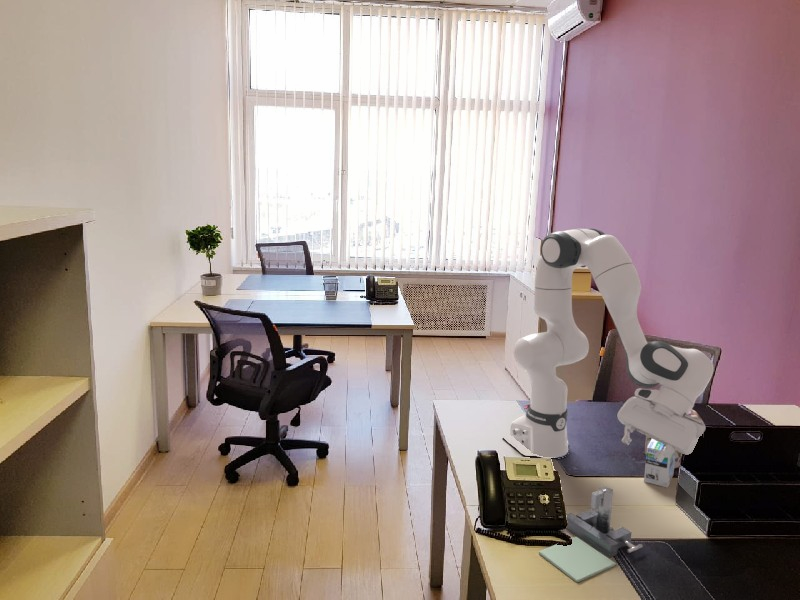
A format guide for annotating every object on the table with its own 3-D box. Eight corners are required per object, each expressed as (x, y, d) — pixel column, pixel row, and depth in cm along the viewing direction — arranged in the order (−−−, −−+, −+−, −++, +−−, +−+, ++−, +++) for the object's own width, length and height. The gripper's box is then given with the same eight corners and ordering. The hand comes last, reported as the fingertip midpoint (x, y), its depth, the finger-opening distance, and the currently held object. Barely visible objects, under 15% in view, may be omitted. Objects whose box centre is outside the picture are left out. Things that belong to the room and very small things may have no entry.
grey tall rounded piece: (581, 533, 152) (585, 489, 150) (601, 525, 156) (605, 482, 153) (599, 545, 147) (603, 499, 145) (619, 537, 151) (623, 492, 148)
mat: (538, 553, 144) (538, 551, 144) (575, 538, 150) (575, 536, 150) (577, 582, 134) (577, 580, 134) (615, 565, 140) (615, 563, 140)
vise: (563, 526, 155) (563, 515, 155) (588, 516, 160) (588, 506, 159) (618, 563, 141) (619, 551, 140) (644, 551, 145) (645, 540, 144)
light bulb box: (668, 488, 174) (671, 453, 172) (642, 482, 178) (646, 447, 175) (674, 473, 183) (677, 439, 181) (650, 467, 186) (653, 434, 184)
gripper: (712, 429, 150) (682, 476, 147) (640, 397, 166) (611, 439, 164) (705, 417, 146) (674, 465, 144) (631, 386, 162) (602, 428, 160)
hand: (640, 451), depth 154 cm, fingers open, 8 cm apart
